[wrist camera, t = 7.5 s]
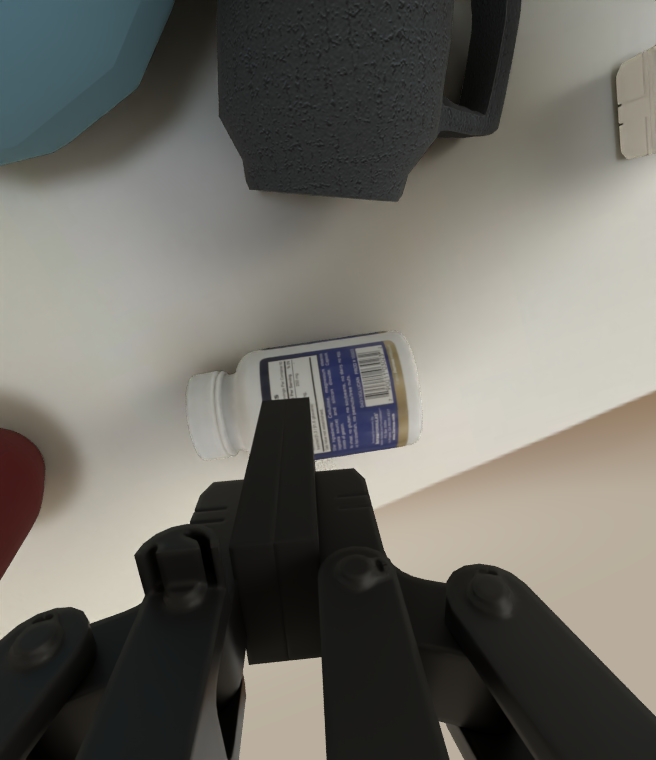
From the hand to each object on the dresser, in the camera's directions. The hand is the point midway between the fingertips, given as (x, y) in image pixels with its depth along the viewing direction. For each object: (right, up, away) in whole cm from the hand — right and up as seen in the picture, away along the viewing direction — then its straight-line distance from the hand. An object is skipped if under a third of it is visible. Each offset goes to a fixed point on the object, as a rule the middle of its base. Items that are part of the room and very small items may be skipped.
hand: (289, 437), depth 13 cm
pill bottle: (+5, +2, +6) cm, 8 cm away
